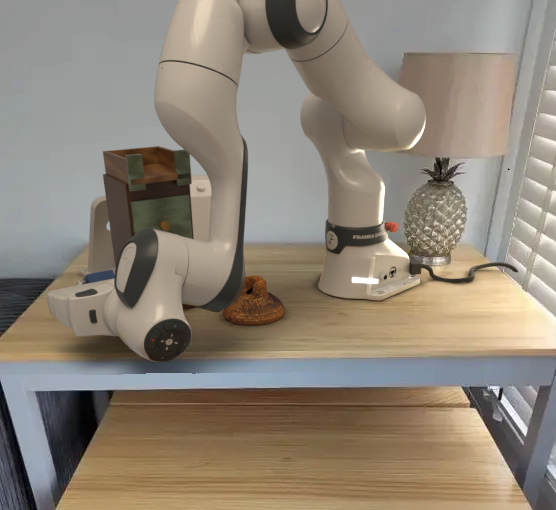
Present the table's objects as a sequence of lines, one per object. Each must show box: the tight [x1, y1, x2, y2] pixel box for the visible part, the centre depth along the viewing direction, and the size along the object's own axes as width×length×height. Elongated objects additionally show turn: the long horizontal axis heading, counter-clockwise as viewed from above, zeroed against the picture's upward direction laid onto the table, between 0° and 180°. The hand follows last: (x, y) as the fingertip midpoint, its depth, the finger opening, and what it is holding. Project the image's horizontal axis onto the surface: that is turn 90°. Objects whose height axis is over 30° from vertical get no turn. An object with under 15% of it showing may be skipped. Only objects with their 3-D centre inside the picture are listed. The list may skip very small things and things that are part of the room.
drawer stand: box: [102, 145, 196, 311], centre depth 115 cm, size 12×13×30 cm
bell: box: [222, 275, 285, 326], centre depth 116 cm, size 12×12×7 cm
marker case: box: [82, 270, 115, 283], centre depth 112 cm, size 4×20×3 cm
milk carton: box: [190, 174, 211, 242], centre depth 148 cm, size 7×7×19 cm
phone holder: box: [79, 195, 116, 278], centre depth 138 cm, size 17×10×18 cm, turn 136°
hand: (98, 281), depth 106 cm, fingers open, 4 cm apart
